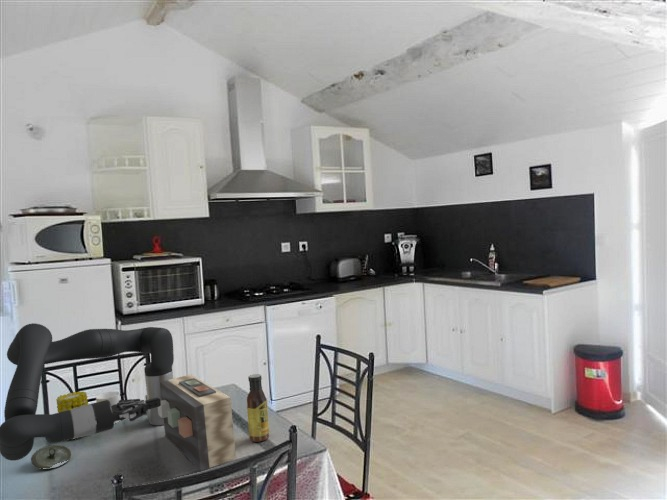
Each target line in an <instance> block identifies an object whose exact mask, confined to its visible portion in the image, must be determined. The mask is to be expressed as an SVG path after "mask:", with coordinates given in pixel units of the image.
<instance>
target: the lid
mask: <svg viewBox="0 0 667 500" xmlns="http://www.w3.org/2000/svg"><path fill="white" fill-rule="evenodd" d="M71 451H72V450H70V449H69V447H68V446H65V445H59V444H52V445H45V446H43V447H40V448H39V449H37V450H36V451H35V452H34V453H33V454H32V455H31V457H30V461H31V464H32V465H33V466H34V467H35V468H37V469H39V468H41V469H40V470H42V469H43V468H50V467H52V466H53V465H55V464H57V463H60V462H61V463H62V462H64V461H67V460H69V461H70V459H71V456H72V452H71Z"/></svg>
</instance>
